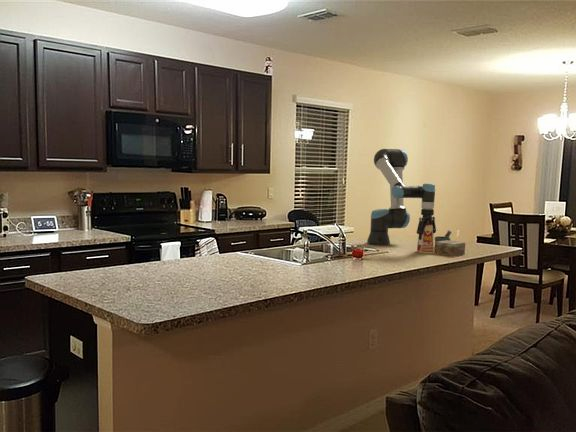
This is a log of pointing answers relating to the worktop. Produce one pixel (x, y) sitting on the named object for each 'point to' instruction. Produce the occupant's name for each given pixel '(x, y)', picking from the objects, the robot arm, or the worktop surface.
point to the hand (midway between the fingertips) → (425, 244)
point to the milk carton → (427, 240)
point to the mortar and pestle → (443, 237)
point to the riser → (450, 248)
